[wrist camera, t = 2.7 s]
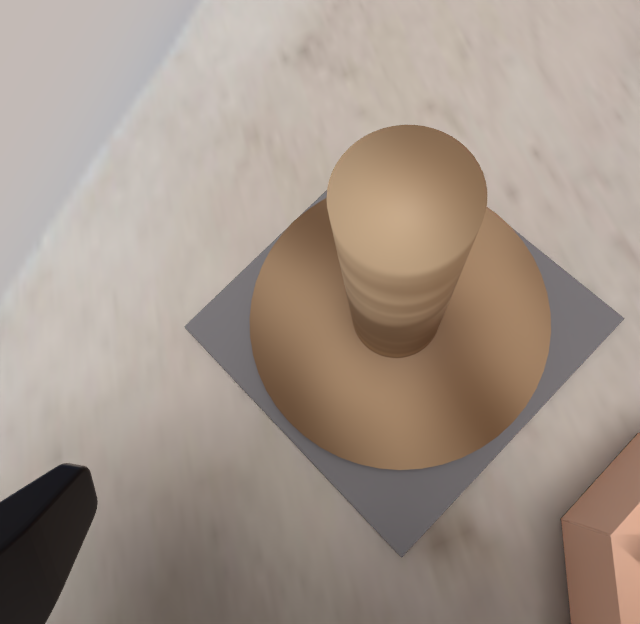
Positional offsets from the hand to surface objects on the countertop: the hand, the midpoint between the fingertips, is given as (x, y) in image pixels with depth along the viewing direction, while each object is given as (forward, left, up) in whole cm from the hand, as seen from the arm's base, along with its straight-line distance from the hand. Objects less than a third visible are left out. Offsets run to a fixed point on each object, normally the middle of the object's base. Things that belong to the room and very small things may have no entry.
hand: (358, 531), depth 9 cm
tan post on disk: (+5, +4, -12) cm, 14 cm away
